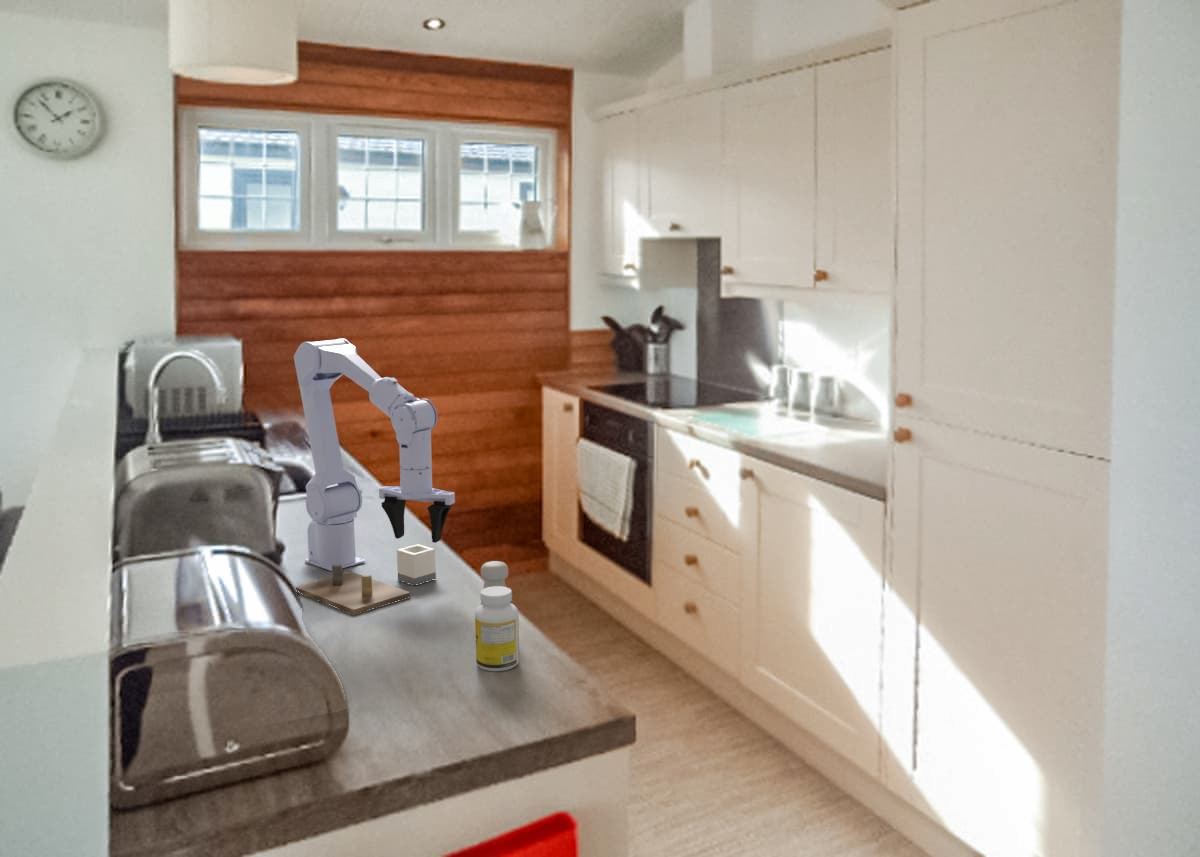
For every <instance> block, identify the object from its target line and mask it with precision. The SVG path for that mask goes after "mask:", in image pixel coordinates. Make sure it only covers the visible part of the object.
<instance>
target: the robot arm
mask: <svg viewBox="0 0 1200 857" xmlns="http://www.w3.org/2000/svg"><path fill="white" fill-rule="evenodd" d="M293 360H294V367H295V371H296V376H297V381H298V382H297V383H298V387H299V391H300V397H301V403H302V407H303V413H304V418H305V424H306V429H307V434H308V440H309V445H310V450H311V456H312V461H313V462H312V463H313V466H314V472H315V473H314V475H313V476H312V477H311V478H310V480H309V481H308V482H307V483H306V485H305V492H306V499H305V507H306V508H305V509H306V511H307V514H308V515H309V517H310V518H311V521H310V522H309V525H308V527H307V530H306V531H307V533H306V536H307V550H308V558H305V559H304V562H305V563H307V564H311V565H313V566H315V567H316V566H317V567H318V568H321V569H325V570H327V571H330V572H332V565H336V564H340V565H342V569H346V568H349V567H352V566H353V567H354V566H355V565H359V564H364V563H365V562H366V559H364V558H361V557H358V556H356V535H355V531H356V530H355V518H357V517H358V514H357V513H358V512H359V511H360V510H361V508H362V505H363V494H362V493H361V490H360V488H359V486H358V485H357V480H356V476H355V475H354V474H352V473H351V472H350V471H348V470H347V469H345V468H344V462H343V459H342V458H343V457H342V454H341V447H340V441H339V437H338V431H337V426H336V419H335V415H334V409H333V404H332V398H331V393H330V389H331V388H332V387H333V384H334V383H335V382H336V381H338V380H339V379H340V378H341V377H342V376H345V377H346V378H349V379H350V380H351V381H353V382H354V383H355V384H357V385H358V386H359V387H361V388H362V389H364V390H365V391H367V392H368V398H369V401H370V403H372V404H373V405H374V406H375V407H377V409H379V410H380V412H382V413H384V414H385V415H386V417H387V416H388V418H390V422H391V425H392V428H393V429H394V431H395V435H396V437H395V438H396V439H395V440H396V441H397V444H398V445H399V476H400V477H399V478H400V479H399V480H400V482H399V483H400V486H391V485H390V486H388V485H387V486H386V485H384V486H382V487H380V488H379V489H378V496H379V497H378V498H379V500H381V499H383V500H384V501H383V502H380V503H381V508H382V509H383V511H384V512H385V514H386V515H387V518H388V520H389V522H390V524H391V528H392V530H393V534H394V538H395V539H400V538H403V537H404V536H405V510H406V504H407V503H406V502H407V501H413V502H425V503H433V504H430V505H429V506H427V511H428V513H429V519H430V525H431V526H430V528H431V533H430V534H431V542H432V543H438V542H440V541H441V540H442V535H443V529H444V526H445V522H446V520H447V518H448V515H449V513H450V511H451V509H452V507H453V504H455V503H456V496H455V495H456V493H455V491H454V492H453V491H446V490H442V489H438V488H433V462H432V458H433V456H432V430H434V428H435V427H436V425H437V423H438V412H437V409H436V407H435V405H434V403H432V402H431V400H430V399H428V398H419V397H415V395H414V394H413V393H412V392H409V391H408V390H406V389H405V388H404V387H403V386H401V385H400V384H399V383H398V382H399V381H398V379H396V378H395V377H389V376H385V377H381V376H380V375H379V374H378V373H377V372H376V371H375V370H374V369H373V368H372V367H371V366H370V365H369V364H368V363H366V361H365V360H364V359H363V358H362V357H360V356H359V355H358V352H357V347H356V346H355V345H353V344H352V343H351V342H350V341H349V340H348V339H346V338H345V337H344V338H343V337H342V338H339V337H338V338H337V339H328V340H320V341H303V342H302V343H300V345H299V346H298V348H297V350H296V352H294V355H293ZM333 485H334V486H333Z"/></svg>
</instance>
